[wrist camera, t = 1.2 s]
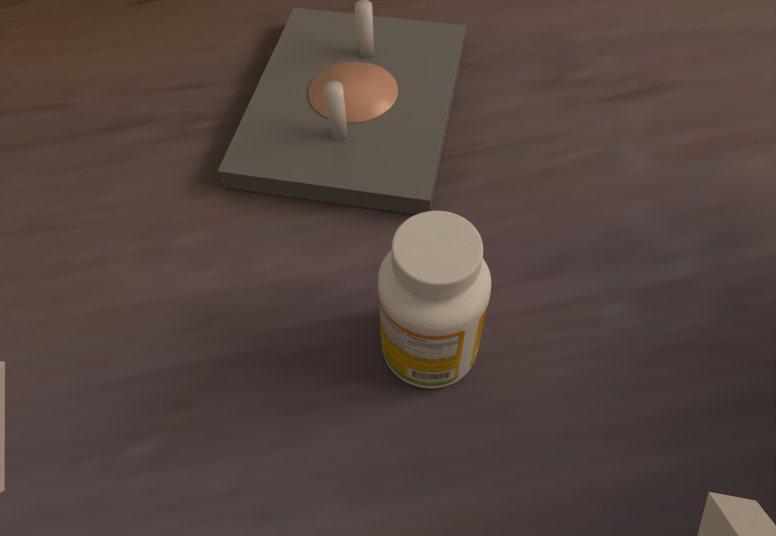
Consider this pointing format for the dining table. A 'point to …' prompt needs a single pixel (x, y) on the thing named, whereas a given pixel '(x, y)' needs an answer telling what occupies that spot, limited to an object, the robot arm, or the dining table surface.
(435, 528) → the dining table surface
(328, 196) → the pin tray
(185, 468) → the dining table surface
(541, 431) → the dining table surface
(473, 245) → the supplement bottle
